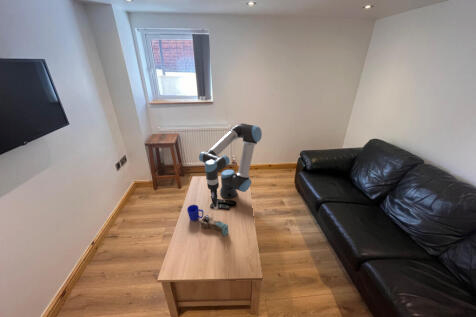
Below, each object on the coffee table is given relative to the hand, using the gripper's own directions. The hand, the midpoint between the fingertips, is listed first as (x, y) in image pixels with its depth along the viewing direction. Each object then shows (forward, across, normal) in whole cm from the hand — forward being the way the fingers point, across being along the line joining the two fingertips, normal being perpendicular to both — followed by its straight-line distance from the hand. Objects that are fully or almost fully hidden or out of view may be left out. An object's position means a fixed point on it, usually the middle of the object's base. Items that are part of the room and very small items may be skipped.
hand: (216, 208), depth 139 cm
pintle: (+12, +4, -7) cm, 14 cm away
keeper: (+12, +11, +5) cm, 17 cm away
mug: (+12, -2, -16) cm, 20 cm away
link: (+12, +6, -3) cm, 14 cm away
